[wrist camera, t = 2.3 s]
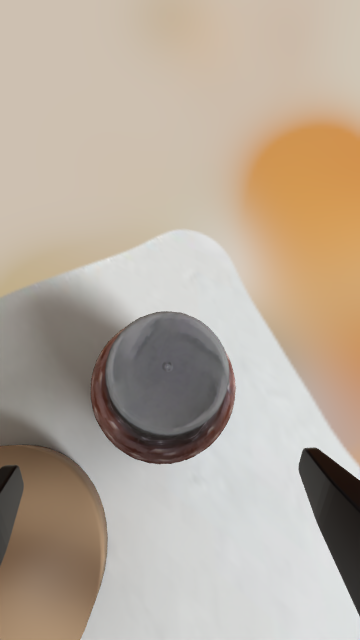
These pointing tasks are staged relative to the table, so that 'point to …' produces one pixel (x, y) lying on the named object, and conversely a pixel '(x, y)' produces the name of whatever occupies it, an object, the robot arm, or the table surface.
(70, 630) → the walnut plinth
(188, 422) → the supplement bottle
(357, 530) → the robot arm
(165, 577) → the table surface
